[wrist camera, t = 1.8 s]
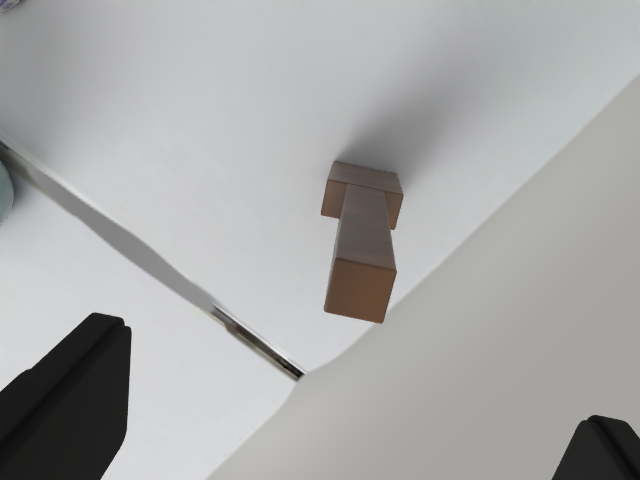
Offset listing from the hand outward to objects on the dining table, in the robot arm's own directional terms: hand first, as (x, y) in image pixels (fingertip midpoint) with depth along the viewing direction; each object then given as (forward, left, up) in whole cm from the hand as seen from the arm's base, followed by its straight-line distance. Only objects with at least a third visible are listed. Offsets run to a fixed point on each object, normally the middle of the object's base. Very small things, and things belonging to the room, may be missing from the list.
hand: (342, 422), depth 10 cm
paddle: (0, 0, -21) cm, 21 cm away
